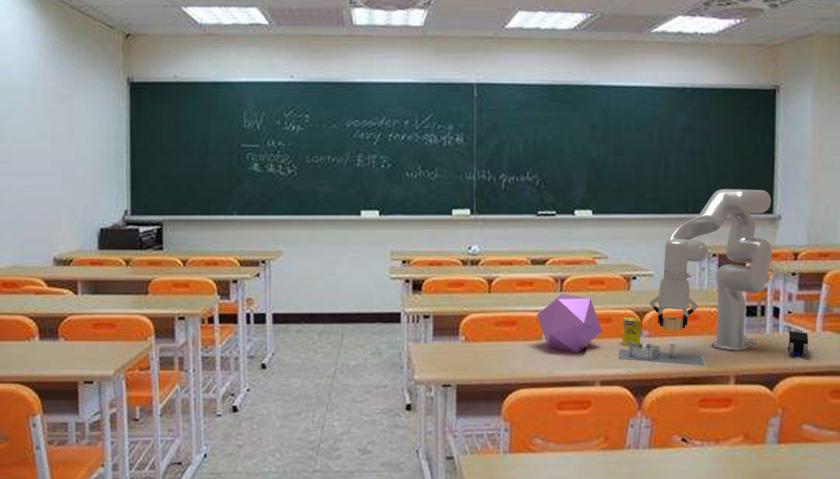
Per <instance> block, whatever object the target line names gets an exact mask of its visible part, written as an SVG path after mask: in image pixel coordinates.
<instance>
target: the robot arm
mask: <svg viewBox="0 0 840 479" xmlns="http://www.w3.org/2000/svg"><path fill="white" fill-rule="evenodd" d="M771 202H772V199H771V196H770V194H769V192H767V191H766V190H763V189H737V188H736V189H734V188H733V189H732V188H731V189H730V188H725V189H723V188H721V189H718V190H716V191H715V192H713V194H712V195H711V196H710V198H709V199H708V201H707V202H706V204H705V205H704V207H703V208H702V210H701V211H700V213H699V214H698V215H697V216H695V217H693V218H691V219H689V220H688V221H687V222H684V223H683V224H681V225H680V226H678V227H677V228H676V229H675V230H674V232H673V233H672V234H671V236H670V238H669V239H668V240H667V242H665V249H664V263H663V264H664V265H663V266H664V267H663V278H661V280H660V283H659V289H658V295H657V296H656V297H655V298H654V299H652V300H650V301H649V305H650V306H651V308H652V309H653V310H654V311H655V312H656V313H657V316H658V317H657V324H659V327H662V321H663V317H664V316H663V312H664V310H665V309H675V310H682V312H683V315H682V319H683V329H686V326H688V322H689V321H688V318H689V316H690V315H691V314H693V313H694V312H695V310H697V309H698V308H699V305H698V304H697V303H696V302H695V301H693V299H691V298H690V284H689V280H687V279H689V278H692V273H690V272H688V262H696V263H698V262H702V261H704V259H705V258H706V257H707V256H708V252H709V249H708V246H707V245H706V243H704V242H703V241H701V240H697V239H694V238H697V237H700V236H704V235H709V234H711V233H714V232H717V231H719V229H720V228H721V226H722V225H723V224H724V223H725V221H726V219H727V218H728V216H729V219H730V228H729V229H730V230H729V233H728V239H727V244H726V250H725V251H726V253H725V254H726V257H727V259H728V260H730V261H733V262H738V263H746V264H751V265H750V266H747V265H739V264H730V263H729V264H724V265H721V266H720V267H718V269H717V272H716V285H717V296H718V297H717V315H716V316H717V321H716V322H717V323H716V340H714V341H712V342H711V346H712V347H714V348H715V349H721V350H724V351H734V352H735V351H739V352H740V351H746V350H748V347H749V345H754V346H755V345H757V346H758V339H753V338H748V337H746V336H745V318H746V315H745V314H746V313H745V312H746V300H745V297H744V295H743V293H742V292H745V293H752V294H758V293H760V292H762V291H763V290H764V288H765V287H766V283H767V279H768V274H769V270H770V265H771V262H772V261H771V259H772V254H773V253H772V247H771V244H770V242H769V241H768V240H767V239H765V238H760V237H759V238H758V237H754V236H755V231H756V223H755V220H754V218H753V216H752V215H751V214H763V213H766V211H768V210H769V209H770V207H771ZM657 302H658V306H659V308H658V307H657V305H656V303H657ZM689 305H691V306H692V307H690V308H689Z"/></svg>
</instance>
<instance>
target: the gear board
mask: <svg viewBox="0 0 840 479" xmlns="http://www.w3.org/2000/svg"><path fill="white" fill-rule="evenodd" d="M641 343H642V342H641ZM647 344H648V343H646V342H643V343H642V348H647ZM675 347H676V346H675V343H670V346H669V352H662V351H660V358H659V359H652V360H648V359H637V358H634V357H630V356H629V349H625V348H624V349H622V348H621V349H620V348H619V352H618V360H627V361H638V362H640V361H641V362H651V363H664V364H665V363H667V364H676V365H677V364H678V365H679V364H680V365H690V366H691V365H692V366H701V367H702V366H704V367H705V363H704V360H703V357H702V355H701V354H693V353H691V354H690V353H677V352H675V350H676V349H675Z"/></svg>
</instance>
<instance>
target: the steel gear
mask: <svg viewBox="0 0 840 479" xmlns="http://www.w3.org/2000/svg"><path fill="white" fill-rule="evenodd" d="M646 344H647V348H642V342H640V343H636V344H629V346H628V350H629V356H630V357H634V358H637V359H648V360H652V359H659V358H660V352H661V349H660V347H661V346H660V345H655V344H652V343H646Z"/></svg>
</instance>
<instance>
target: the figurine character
mask: <svg viewBox="0 0 840 479" xmlns="http://www.w3.org/2000/svg"><path fill="white" fill-rule="evenodd" d="M788 336H789V337H788V338H789V340H788V347H787V350H788V353H791V357H792V358H795V356H796V357H800V358H801V359H804V354H805V355H807V354H808V352H809V339H808V338H809V336H808V333H807V332H801V331H793V330H792V331H791V330H789V332H788Z"/></svg>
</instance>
